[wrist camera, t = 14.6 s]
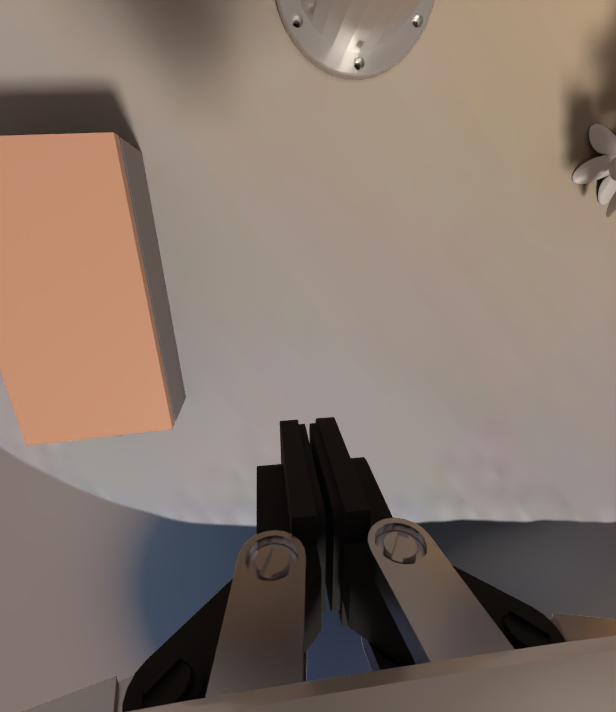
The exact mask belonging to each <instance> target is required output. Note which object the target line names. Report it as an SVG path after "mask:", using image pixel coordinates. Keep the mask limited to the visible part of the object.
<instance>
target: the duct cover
mask: <svg viewBox="0 0 616 712" xmlns="http://www.w3.org/2000/svg"><path fill="white" fill-rule="evenodd" d="M0 371H1V373H2V376H3V379H4V382H5V385H6V388H7V391H8V394H9V397H10V399H11V402H12V405H13V408H14V411H15V414H16V417H17V420H18V422H19V425H20V428H21V431H22V434H23V437H24V440H25V443H26V446H28V445H37V444H46V443H55V442H63V441H72V440H81V439H90V438H98V437H107V436H116V435H125V434H134V433H142V432H151V431H160V430H169V429H173V426H174V424H175V422H174V417H173V411H172V406H171V401H170V396H169V391H168V386H167V381H166V375H165V370H164V365H163V360H162V355H161V350H160V345H159V340H158V334H157V329H156V324H155V319H154V314H153V309H152V304H151V298H150V293H149V288H148V283H147V278H146V273H145V268H144V263H143V257H142V252H141V247H140V242H139V237H138V232H137V227H136V221H135V216H134V211H133V206H132V201H131V196H130V191H129V186H128V180H127V175H126V170H125V165H124V160H123V155H122V150H121V144H120V139H119V136H118V135H117V134H115V133H114V132H106V133H74V134H41V135H8V136H0Z"/></svg>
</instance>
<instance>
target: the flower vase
mask: <svg viewBox="0 0 616 712" xmlns="http://www.w3.org/2000/svg"><path fill="white" fill-rule="evenodd" d="M589 140H590V143H591V145H592V147H593V148H594V149H595V150H596V151H597V152H598V153H601V154H606V155H603V156H599V157H596V158H593V159H591V160H589V161H587V162H585V163H584V164H582V165H581V166H580V167H579V168H578V169H577V170H576V171H575V172H574V174H573V176H572V179H573V182H574V183H576V184H587V183H590V182H593V181H596V180H598V179H601V178H603V177H606V176H607V177H606V178H605V179H604V180H603V181H602V183H601V185H600V187H599V191H598V200H599V203H600V204H601V205H605V204H607V203H608V202H609V201H610V202H609V205H608V208H607V212H606V215H607V217H609V216H611V215H612V214H613V213H614V212H615V211H616V135H614V134H613V133H612V132H611V131H610V130H609V129H608V128H607V127H605V126H604V125H602V124H597V123H596V124H593V125H592V126H591V127H590V129H589ZM608 175H609V176H608Z"/></svg>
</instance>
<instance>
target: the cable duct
mask: <svg viewBox="0 0 616 712" xmlns="http://www.w3.org/2000/svg"><path fill="white" fill-rule="evenodd" d="M119 139H120V144H121V150H122V155H123V160H124V165H125V170H126V175H127V180H128V186H129V191H130V196H131V201H132V206H133V211H134V216H135V221H136V227H137V232H138V237H139V242H140V247H141V252H142V257H143V263H144V268H145V273H146V278H147V283H148V288H149V293H150V298H151V304H152V309H153V314H154V319H155V324H156V329H157V334H158V340H159V345H160V350H161V355H162V360H163V365H164V370H165V375H166V381H167V386H168V391H169V396H170V401H171V406H172V411H173V417H174V421H176V419H177V417H178V415H179V412H180V410H181V408H182V405H183V403H184V401H185V398H186V396H185V391H184V385H183V380H182V374H181V368H180V363H179V357H178V352H177V346H176V341H175V335H174V329H173V324H172V318H171V313H170V307H169V302H168V296H167V291H166V285H165V279H164V274H163V268H162V263H161V257H160V252H159V246H158V240H157V235H156V229H155V224H154V218H153V213H152V207H151V201H150V196H149V190H148V185H147V179H146V174H145V168H144V162H143V157H142V153H141V152H140V151H139V150H137V149H136V148H134V147H133V146H132V145H130V144H129V143H128V142H126V141H125V140H123V139H122V138H119Z"/></svg>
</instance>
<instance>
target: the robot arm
mask: <svg viewBox="0 0 616 712" xmlns="http://www.w3.org/2000/svg"><path fill="white" fill-rule="evenodd" d="M276 2H277V7H278V11H279V14H280V17H281V19H282V22H283V24H284V27H285V29H286V31H287V33H288V34H289V36H290V38H291V40H292V41H293V43H294V45H295V46H296V47H297V48H298V50H299V51H300V52H301V53H302V54H303V55H304V57H305V58H306V59H307V60H309V61H310V62H311V63H312V64H314V65H315V66H316V67H317V68H319V69H320V70H322V71H324V72H326V73H328V74H330V75H332V76H336V77H339V78H343V79H352V80H362V79H367V78H372V77H375V76H378V75H380V74H382V73H384V72H387V71H388V70H390V69H391V68H392V67H394V66H395V65H397V64H398V63H399V62H400V61H401V60H402V59H403V58H404V57H405V56H406V55H407V54H408V53H409V52H410V50H411V49H412V48H413V46H414V45H415V44H416V42H417V41H418V40H419V38H420V36H421V35H422V33H423V31H424V29H425V27H426V25H427V23H428V20H429V17H430V14H431V11H432V8H433V5H434V0H276ZM295 23H296V24H298V25H299V28H296V27H294V26H293V24H295ZM413 24H415V26H416V27H414V25H413ZM354 65H357V66H358V67H359V70H356V68H355V67H354ZM280 441H281V464H278V465H266V466H257V535H255V536H254V537H252V538H251V539H249V540H248V541H247V542H246V543H245V545H244V546H243V547H242V548H241V551H240V553H239V556H238V559H237V564H236V568H235V572H234V577H233V579H232V580H231V581H230V582H229V583H228V584H227V585H225V586H224V587H223V588H222V589H221V590H220V591H219V592H218V593H217V594H216V595H215V596H214V597H213V598H212V599H211V600H210V601H209V602H207V604H205V605H204V606H203V607H202V608H201V609H200V610H199V611H198V612H197V613H196V614H195V615H194V616H193V617H192V618H191V619H190V620H189V621H188V622H186V623H185V624H184V625H183V626H182V627H181V628H180V629H179V630H178V631H177V632H176V633H175V634H174V635H173V636H172V637H170V638H169V639H168V640H167V641H166V642H165V643H164V644H163V645H162V646H161V647H160V648H159V649H158V650H157V651H156V652H155V653H154V654H152V656H150V657H149V658H148V659H147V660H146V661H145V663H144V664H143V665H142V666H141V667H140V668H139V669H138V671H137V672H136V673H135V675H134V676H132V677H130V678H127V679H125V680H122V681H119V682H118V680H117V676H115V677H112V678H110V679H107V680H104V681H102V682H99V683H97V684H94V685H91V686H89V687H87V688H84V689H81V690H78V691H76V692H73V693H71V694H68V695H65V696H63V697H60V698H58V699H55V700H52V701H50V702H47V703H44V704H42V705H39V706H36V707H34V708H32V709H29V710H26V711H23V712H616V619H607V618H597V617H587V616H578V615H568V614H559V613H553V616H552V619H550V618H547V617H546V616H545V615H543V614H542V613H540V612H539V611H537V610H536V609H534V608H533V607H531V606H529V605H527V604H525V603H524V602H521V601H520V600H518V599H516V598H514V597H512V596H510V595H508V594H506V593H504V592H502V591H501V590H499V589H497V588H495V587H493V586H491V585H489V584H487V583H485V582H483V581H481V580H479V579H478V578H476V577H474V576H472V575H470V574H468V573H466V572H464V571H462V570H460V569H458V568H456V567H454V566H452V565H451V564H450V562H449V561H448V560H447V558H446V557H445V555H444V554H443V553H442V551H441V550H440V549H439V547H438V546H437V545H436V543H435V542H434V541H433V539H432V538H431V537H430V535H429V534H428V533H427V532H426V531H425V530H424V529H423V528H421V527H420V526H418V525H417V524H415V523H414V522H411V521H408V520H405V519H400V518H393V517H392V515H391V513H390V511H389V508H388V506H387V504H386V502H385V500H384V498H383V495H382V493H381V491H380V489H379V487H378V485H377V482H376V480H375V478H374V476H373V474H372V471H371V469H370V467H369V465H368V463H367V461H366V459H365V458H364V457H361V458H350V456H349V453H348V451H347V448H346V446H345V443H344V441H343V438H342V436H341V433H340V431H339V428H338V426H337V423H336V421H335V418H334V417H331V418H316V423H312V424H310V444H309V440H308V435H307V431H306V427H305V424H298V420H288V421H280ZM325 584H326V589H327V594H328V599H329V605H330V609H331V611H339V615H340V620H341V625H342V626H347V625H348V626H349V627H350V628H351V629H353V630H354V631H355V632H357V633H358V634H359V635H361V636H362V644H363V648H364V651H365V654H366V657H367V659H368V662H369V664H370V667H371V669H372V671H371V672H365V673H358V674H352V675H346V676H339V677H333V678H326V679H320V680H313V681H307V682H306V679H307V649H308V648H309V647H310V645H311V644H312V642H313V641H314V640H315V638H316V637H317V635H318V634H319V632H320V631H321V613H324V612H325Z"/></svg>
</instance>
